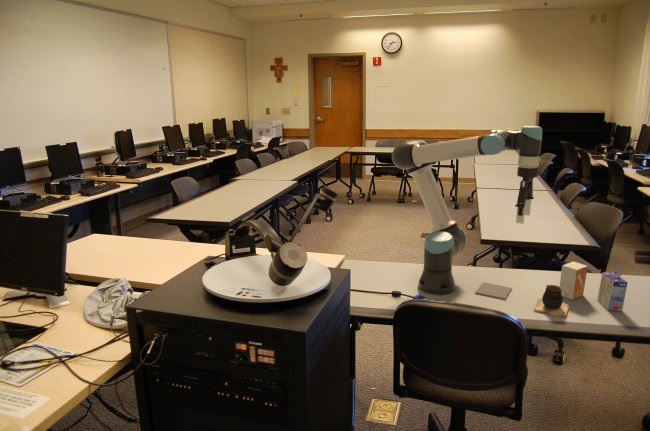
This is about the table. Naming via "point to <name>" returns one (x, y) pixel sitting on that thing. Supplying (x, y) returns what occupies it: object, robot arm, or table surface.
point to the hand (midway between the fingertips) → (523, 219)
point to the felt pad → (493, 290)
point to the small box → (573, 280)
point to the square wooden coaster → (557, 312)
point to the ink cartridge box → (612, 291)
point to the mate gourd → (552, 297)
